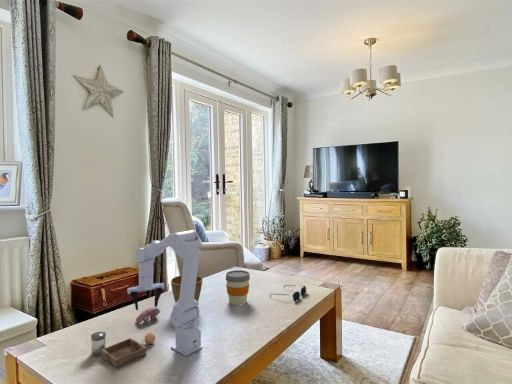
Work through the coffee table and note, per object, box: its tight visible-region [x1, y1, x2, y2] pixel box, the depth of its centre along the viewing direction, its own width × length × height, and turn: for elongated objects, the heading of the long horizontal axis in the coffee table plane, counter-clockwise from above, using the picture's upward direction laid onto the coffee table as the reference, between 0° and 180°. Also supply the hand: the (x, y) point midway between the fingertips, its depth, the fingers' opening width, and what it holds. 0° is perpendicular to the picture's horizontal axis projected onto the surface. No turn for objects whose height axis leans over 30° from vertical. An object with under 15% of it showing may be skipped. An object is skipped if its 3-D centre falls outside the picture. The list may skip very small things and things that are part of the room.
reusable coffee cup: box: [225, 269, 251, 306], centre depth 166 cm, size 13×12×15 cm
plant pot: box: [170, 274, 203, 304], centre depth 154 cm, size 15×15×16 cm
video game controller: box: [135, 306, 161, 324], centre depth 145 cm, size 10×5×7 cm, turn 143°
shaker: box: [90, 331, 107, 358], centre depth 117 cm, size 5×5×7 cm
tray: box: [101, 337, 147, 369], centre depth 115 cm, size 11×11×3 cm
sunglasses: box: [269, 284, 307, 302], centre depth 176 cm, size 17×15×5 cm
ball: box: [144, 332, 156, 345], centre depth 124 cm, size 4×4×4 cm
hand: (146, 307), depth 135 cm, fingers open, 7 cm apart
